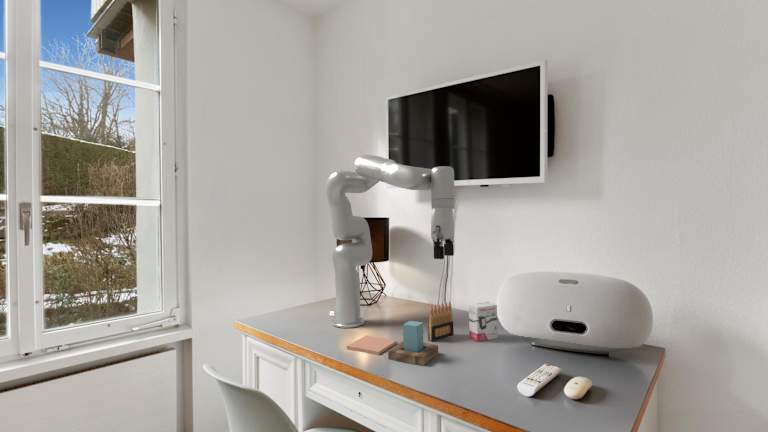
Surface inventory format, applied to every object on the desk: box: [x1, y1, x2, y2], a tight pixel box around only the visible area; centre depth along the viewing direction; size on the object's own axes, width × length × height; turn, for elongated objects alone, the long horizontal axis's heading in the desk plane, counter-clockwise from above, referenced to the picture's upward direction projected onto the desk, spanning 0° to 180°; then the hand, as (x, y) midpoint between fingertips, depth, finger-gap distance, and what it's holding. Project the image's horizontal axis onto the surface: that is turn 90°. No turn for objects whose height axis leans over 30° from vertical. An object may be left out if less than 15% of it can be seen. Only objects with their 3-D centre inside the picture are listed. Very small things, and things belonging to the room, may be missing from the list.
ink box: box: [468, 301, 498, 343], centre depth 137 cm, size 8×5×12 cm, turn 115°
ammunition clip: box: [427, 301, 455, 342], centre depth 138 cm, size 11×2×12 cm, turn 127°
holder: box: [387, 340, 439, 367], centre depth 121 cm, size 12×12×2 cm
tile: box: [346, 335, 398, 356], centre depth 131 cm, size 12×12×1 cm
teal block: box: [402, 320, 424, 353], centre depth 121 cm, size 4×4×10 cm
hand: (444, 257), depth 130 cm, fingers open, 9 cm apart
